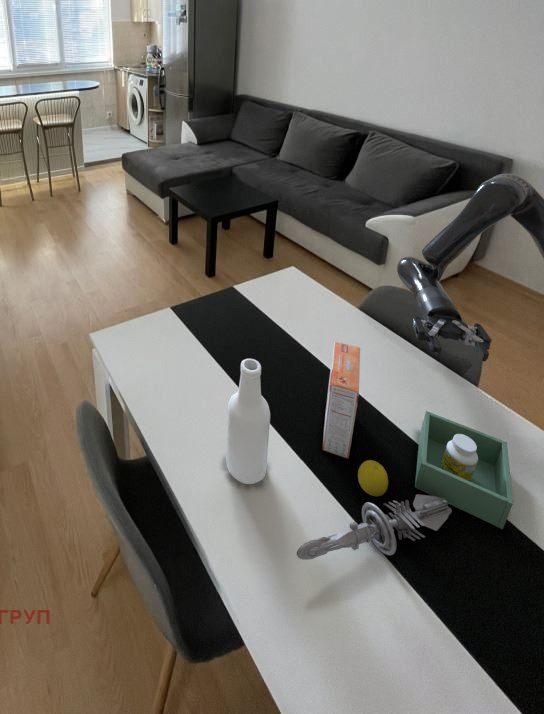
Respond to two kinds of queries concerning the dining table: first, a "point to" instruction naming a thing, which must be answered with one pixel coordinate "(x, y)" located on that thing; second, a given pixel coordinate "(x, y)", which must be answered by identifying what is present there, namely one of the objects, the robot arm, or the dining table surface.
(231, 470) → the alcohol
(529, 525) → the dining table surface
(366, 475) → the lemon
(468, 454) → the supplement bottle
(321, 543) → the spaceship
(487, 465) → the open storage box
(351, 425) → the cracker box
